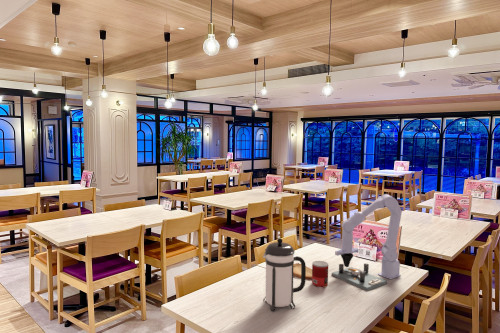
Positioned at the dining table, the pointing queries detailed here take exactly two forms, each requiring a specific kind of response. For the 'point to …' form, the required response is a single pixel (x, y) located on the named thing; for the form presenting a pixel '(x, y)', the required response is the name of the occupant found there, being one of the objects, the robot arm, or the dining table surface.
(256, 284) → the dining table surface
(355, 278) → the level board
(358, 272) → the capstan
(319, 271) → the canned food
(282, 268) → the coffee press
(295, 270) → the slice of bread
